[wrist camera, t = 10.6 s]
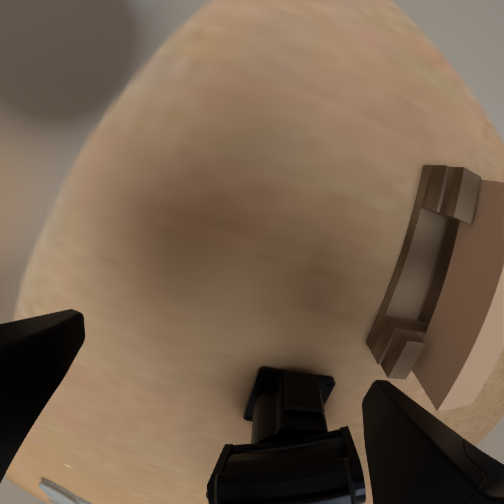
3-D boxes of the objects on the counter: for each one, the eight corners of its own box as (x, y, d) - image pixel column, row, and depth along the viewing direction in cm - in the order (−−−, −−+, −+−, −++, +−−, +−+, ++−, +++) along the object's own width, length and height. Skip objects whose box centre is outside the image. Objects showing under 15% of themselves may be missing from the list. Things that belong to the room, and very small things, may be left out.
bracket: (444, 350, 20) (468, 379, 16) (366, 342, 20) (384, 377, 16) (498, 203, 17) (534, 212, 12) (423, 165, 17) (461, 165, 12)
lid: (116, 520, 41) (113, 528, 38) (64, 500, 42) (61, 506, 39) (83, 493, 36) (79, 502, 33) (31, 469, 38) (27, 476, 35)
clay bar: (443, 366, 18) (471, 404, 13) (410, 367, 18) (437, 411, 13) (497, 191, 14) (546, 201, 9) (466, 178, 14) (518, 184, 9)
